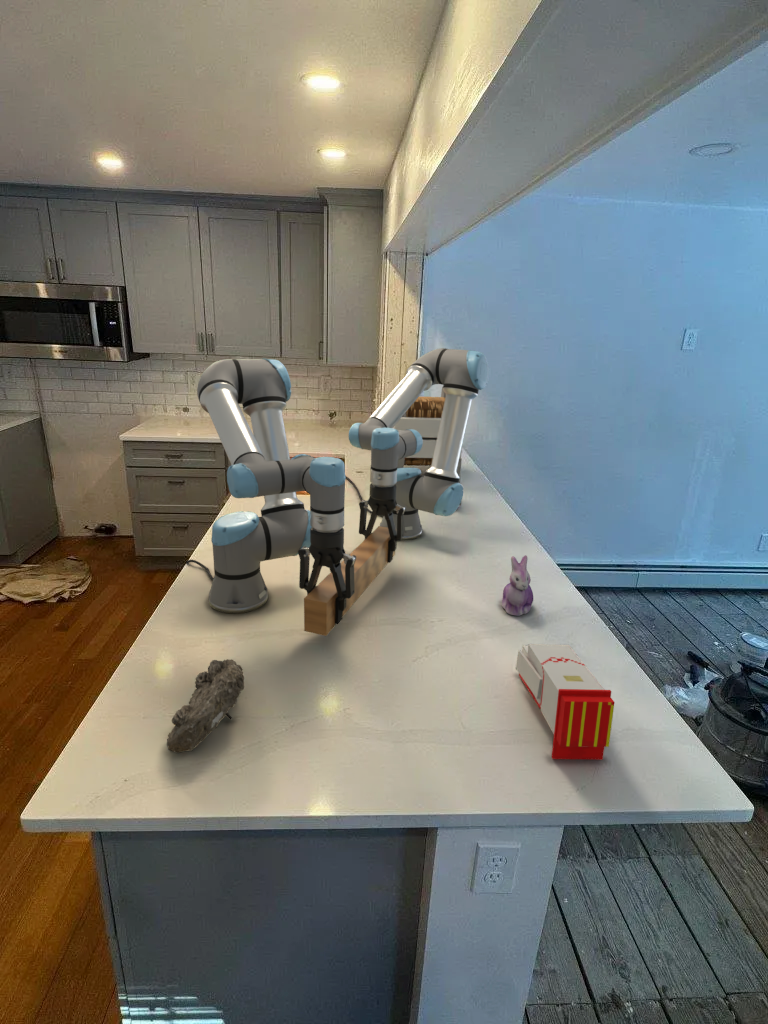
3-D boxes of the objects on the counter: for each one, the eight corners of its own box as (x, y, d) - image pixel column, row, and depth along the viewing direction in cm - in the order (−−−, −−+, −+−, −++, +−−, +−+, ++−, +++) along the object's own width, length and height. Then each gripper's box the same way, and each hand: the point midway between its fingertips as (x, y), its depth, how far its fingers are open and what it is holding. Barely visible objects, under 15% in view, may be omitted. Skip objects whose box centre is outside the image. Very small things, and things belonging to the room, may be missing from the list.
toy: (564, 626, 126) (624, 698, 97) (558, 682, 129) (615, 767, 100) (510, 625, 126) (554, 696, 96) (506, 681, 128) (547, 766, 99)
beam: (377, 551, 174) (378, 526, 171) (395, 554, 172) (396, 528, 169) (304, 631, 129) (303, 598, 127) (326, 636, 128) (326, 603, 125)
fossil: (192, 660, 117) (244, 628, 112) (224, 691, 120) (276, 661, 115) (142, 746, 98) (202, 712, 93) (182, 779, 101) (242, 748, 96)
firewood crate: (382, 463, 289) (386, 382, 275) (445, 464, 293) (451, 384, 279) (390, 482, 257) (394, 392, 243) (460, 483, 261) (468, 394, 247)
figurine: (515, 620, 147) (523, 568, 141) (491, 602, 155) (497, 552, 150) (543, 613, 151) (551, 562, 146) (518, 596, 159) (525, 547, 154)
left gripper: (281, 526, 126) (283, 618, 133) (359, 539, 120) (357, 635, 128) (297, 515, 132) (298, 604, 140) (372, 528, 127) (369, 619, 134)
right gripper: (347, 482, 159) (345, 558, 167) (411, 491, 153) (406, 569, 161) (357, 476, 166) (355, 548, 173) (418, 484, 160) (413, 559, 168)
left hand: (326, 618), depth 134 cm, fingers closed on beam, 6 cm apart
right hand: (379, 558), depth 167 cm, fingers closed on beam, 6 cm apart
